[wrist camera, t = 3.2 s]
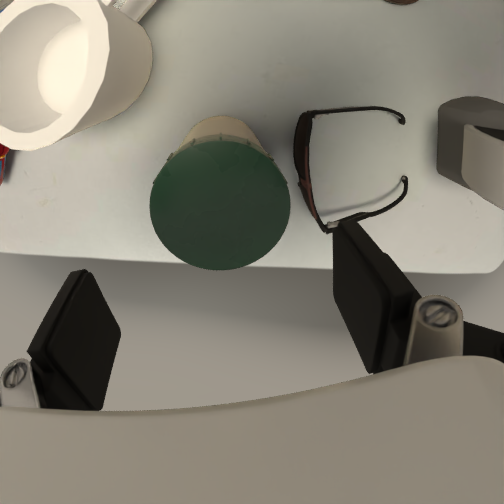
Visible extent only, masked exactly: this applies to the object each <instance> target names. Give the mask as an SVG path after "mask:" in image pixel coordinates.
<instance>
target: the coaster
mask: <svg viewBox="0 0 504 504" xmlns="http://www.w3.org/2000/svg"><path fill="white" fill-rule="evenodd" d="M385 1H387V2H390V3H394V4H400V5H406V4H411V3H414V2H417V1H418V0H385Z"/></svg>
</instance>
